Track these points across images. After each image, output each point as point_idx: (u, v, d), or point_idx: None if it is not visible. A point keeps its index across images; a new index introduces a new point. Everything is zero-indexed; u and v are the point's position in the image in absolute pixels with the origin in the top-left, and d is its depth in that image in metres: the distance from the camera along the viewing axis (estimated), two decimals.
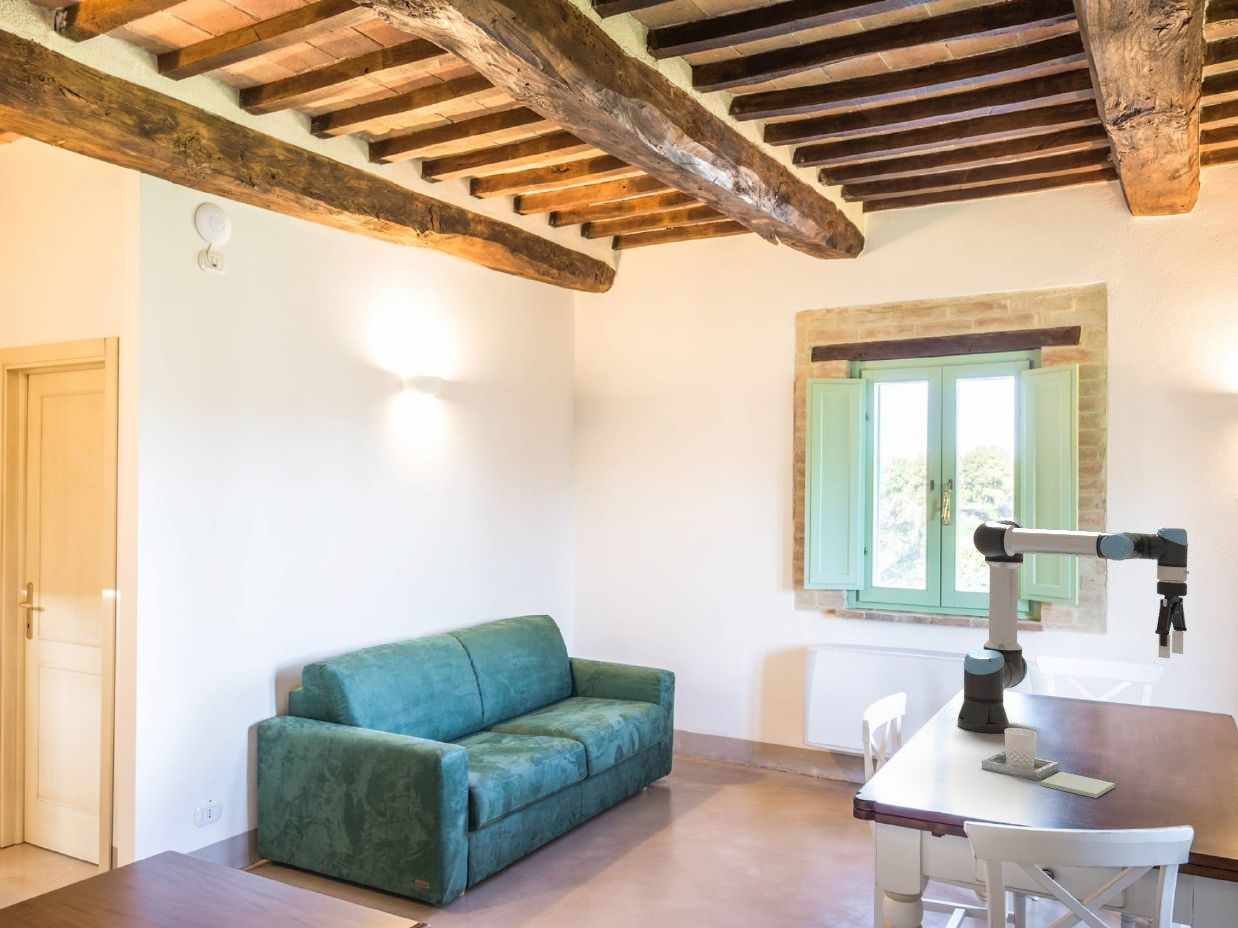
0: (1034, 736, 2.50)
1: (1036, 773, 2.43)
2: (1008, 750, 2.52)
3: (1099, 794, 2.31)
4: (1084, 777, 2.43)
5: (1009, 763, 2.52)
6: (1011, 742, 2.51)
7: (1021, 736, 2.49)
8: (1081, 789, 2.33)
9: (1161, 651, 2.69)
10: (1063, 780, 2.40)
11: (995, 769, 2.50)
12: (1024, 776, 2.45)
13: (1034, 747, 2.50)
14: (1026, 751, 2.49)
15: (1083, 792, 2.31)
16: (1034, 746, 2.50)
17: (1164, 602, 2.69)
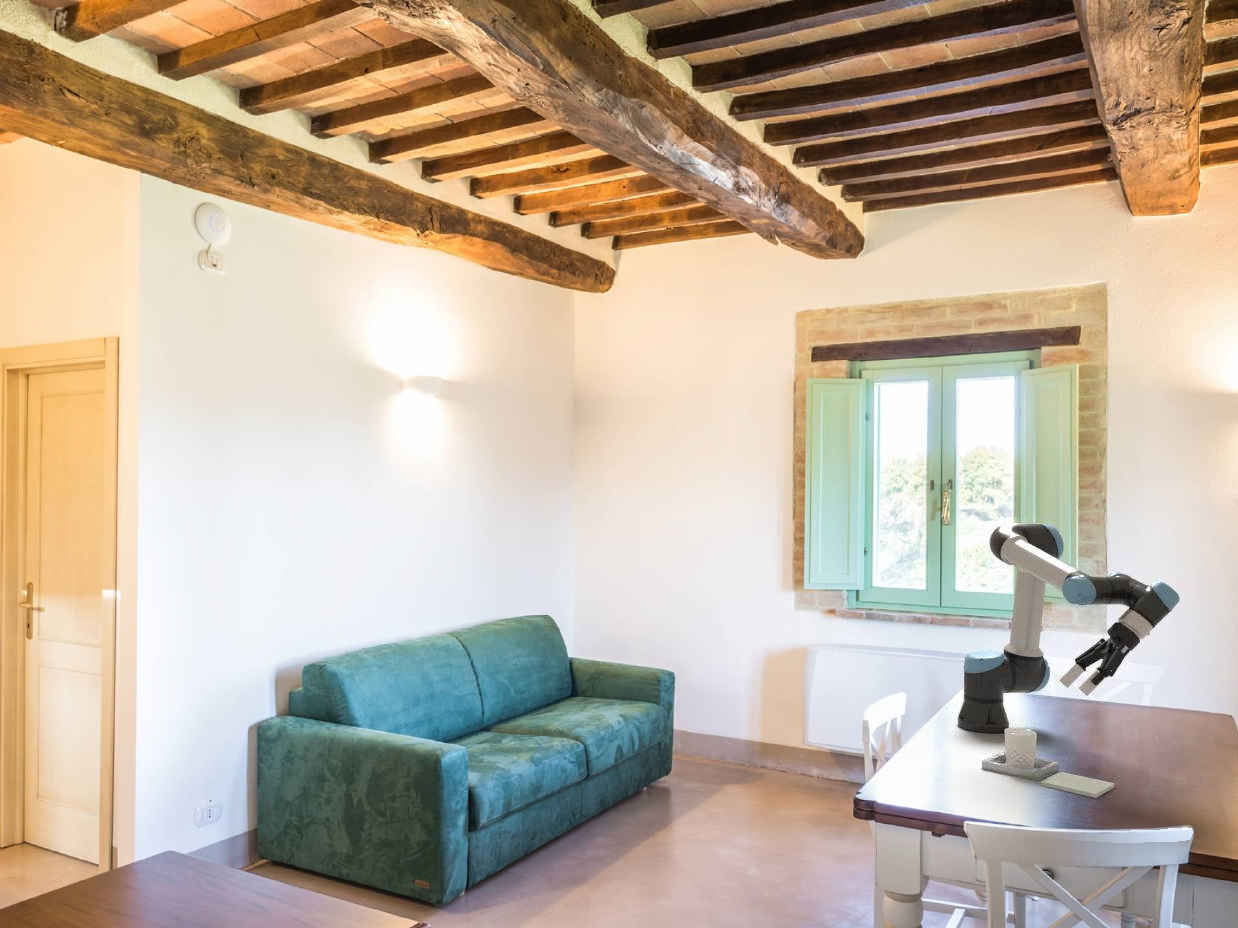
0: (1034, 736, 2.50)
1: (1036, 773, 2.43)
2: (1008, 750, 2.52)
3: (1099, 794, 2.31)
4: (1084, 777, 2.43)
5: (1009, 763, 2.52)
6: (1011, 742, 2.51)
7: (1021, 736, 2.49)
8: (1081, 789, 2.33)
9: (1086, 685, 2.46)
10: (1063, 780, 2.40)
11: (995, 769, 2.50)
12: (1024, 776, 2.45)
13: (1034, 747, 2.50)
14: (1026, 751, 2.49)
15: (1083, 792, 2.31)
16: (1034, 746, 2.50)
17: (1125, 648, 2.46)
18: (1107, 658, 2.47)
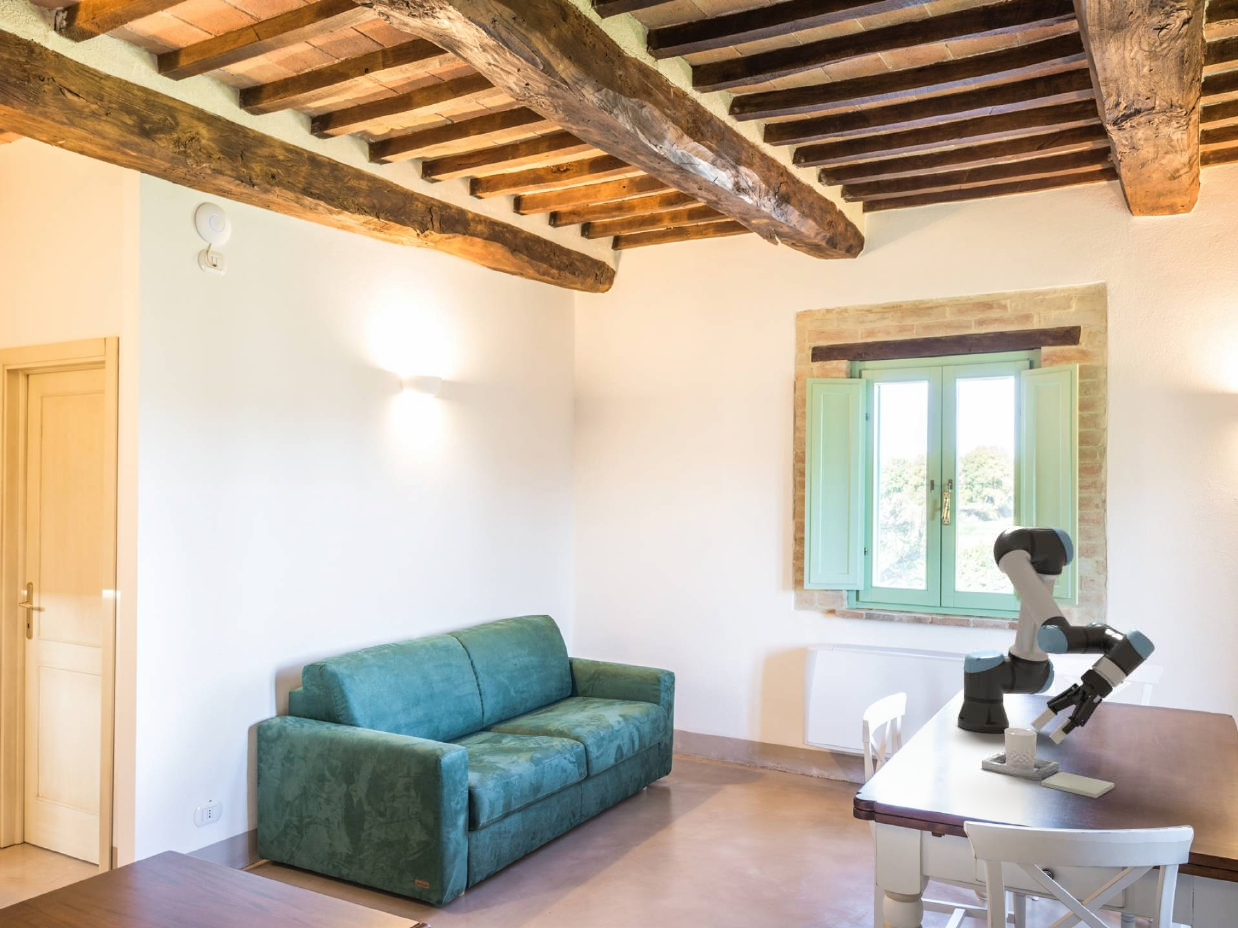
0: (1034, 736, 2.50)
1: (1036, 773, 2.43)
2: (1008, 750, 2.52)
3: (1099, 794, 2.31)
4: (1084, 777, 2.43)
5: (1009, 763, 2.52)
6: (1011, 742, 2.51)
7: (1021, 736, 2.49)
8: (1081, 789, 2.33)
9: (1056, 734, 2.44)
10: (1063, 780, 2.40)
11: (995, 769, 2.50)
12: (1024, 776, 2.45)
13: (1034, 747, 2.50)
14: (1026, 751, 2.49)
15: (1083, 792, 2.31)
16: (1034, 746, 2.50)
17: (1097, 698, 2.44)
18: (1079, 706, 2.46)
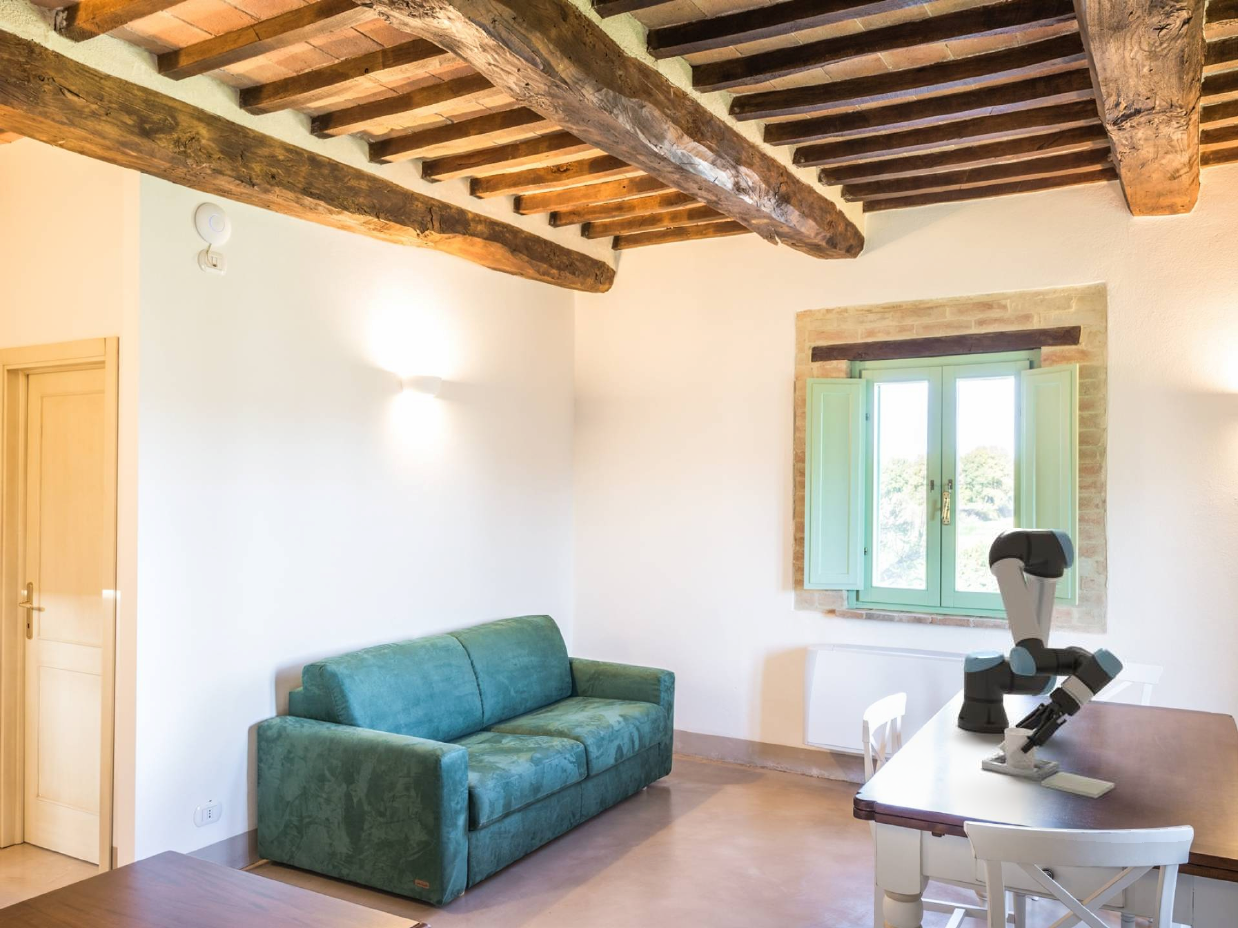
0: None
1: (1036, 773, 2.43)
2: (1008, 750, 2.52)
3: (1099, 794, 2.31)
4: (1084, 777, 2.43)
5: (1009, 763, 2.52)
6: (1011, 741, 2.51)
7: (1021, 736, 2.49)
8: (1081, 789, 2.33)
9: (1015, 753, 2.48)
10: (1063, 780, 2.40)
11: (995, 769, 2.50)
12: (1024, 776, 2.45)
13: (1034, 747, 2.50)
14: None
15: (1083, 792, 2.31)
16: None
17: (1061, 719, 2.46)
18: (1041, 726, 2.49)
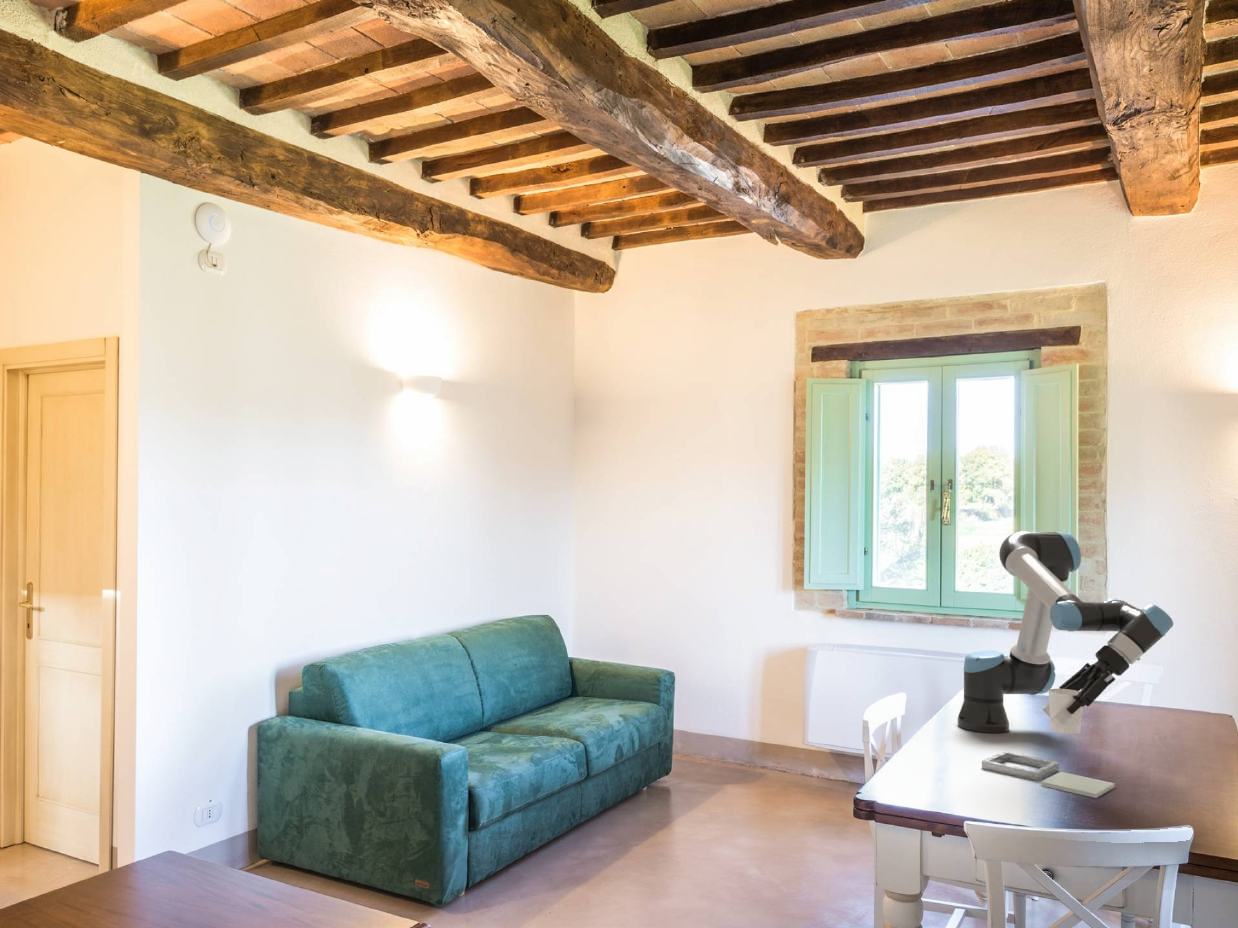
0: None
1: (1036, 773, 2.43)
2: (1053, 711, 2.41)
3: (1099, 794, 2.31)
4: (1084, 777, 2.43)
5: (1054, 725, 2.40)
6: (1056, 702, 2.39)
7: (1067, 696, 2.38)
8: (1081, 789, 2.33)
9: (1061, 714, 2.37)
10: (1063, 780, 2.40)
11: (995, 769, 2.50)
12: (1024, 776, 2.45)
13: None
14: None
15: (1083, 792, 2.31)
16: None
17: (1109, 677, 2.34)
18: (1088, 685, 2.37)
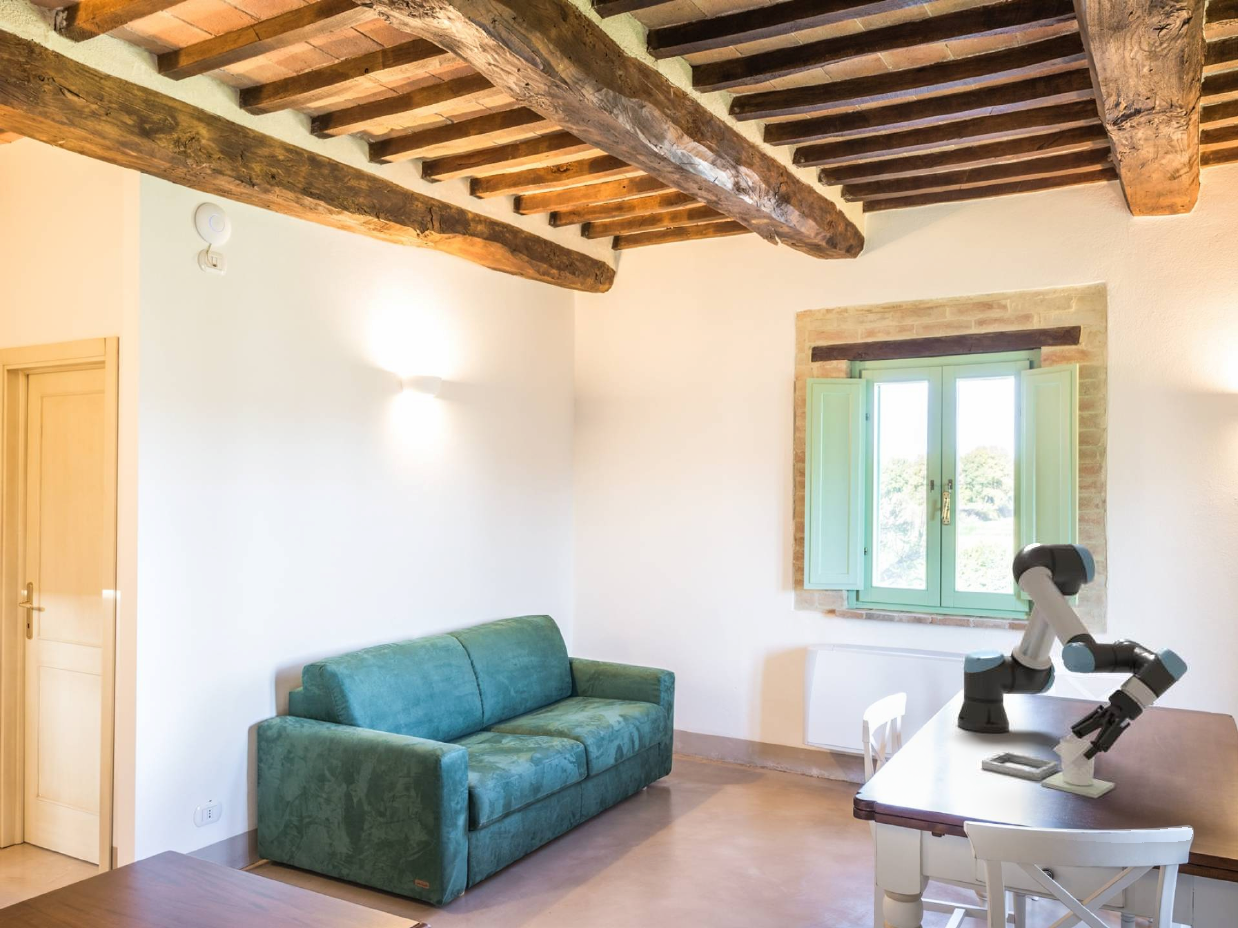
0: None
1: (1036, 773, 2.43)
2: (1065, 762, 2.38)
3: (1099, 794, 2.31)
4: None
5: (1066, 776, 2.38)
6: (1069, 753, 2.37)
7: (1079, 747, 2.35)
8: (1081, 789, 2.33)
9: (1078, 759, 2.33)
10: (1063, 780, 2.40)
11: (995, 769, 2.50)
12: (1024, 776, 2.45)
13: (1093, 758, 2.36)
14: None
15: (1083, 792, 2.31)
16: (1093, 757, 2.36)
17: (1124, 722, 2.32)
18: (1104, 730, 2.34)
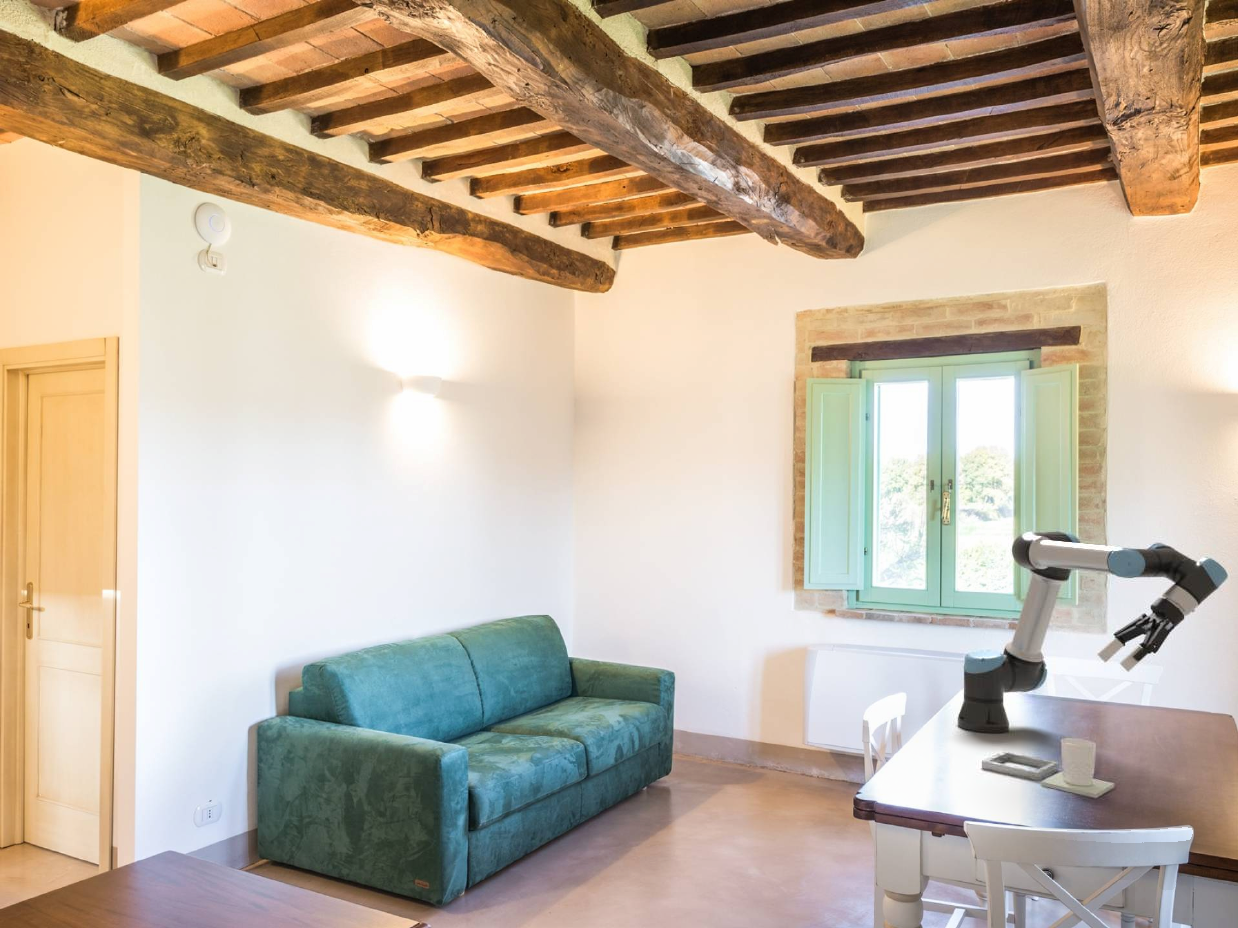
0: (1093, 747, 2.36)
1: (1036, 773, 2.43)
2: (1066, 762, 2.38)
3: (1099, 794, 2.31)
4: None
5: (1067, 776, 2.38)
6: (1069, 753, 2.37)
7: (1080, 747, 2.35)
8: (1081, 789, 2.33)
9: (1127, 661, 2.40)
10: (1063, 780, 2.40)
11: (995, 769, 2.50)
12: (1024, 776, 2.45)
13: (1093, 759, 2.36)
14: (1085, 763, 2.35)
15: (1083, 792, 2.31)
16: (1093, 758, 2.36)
17: (1169, 625, 2.40)
18: (1150, 634, 2.42)
